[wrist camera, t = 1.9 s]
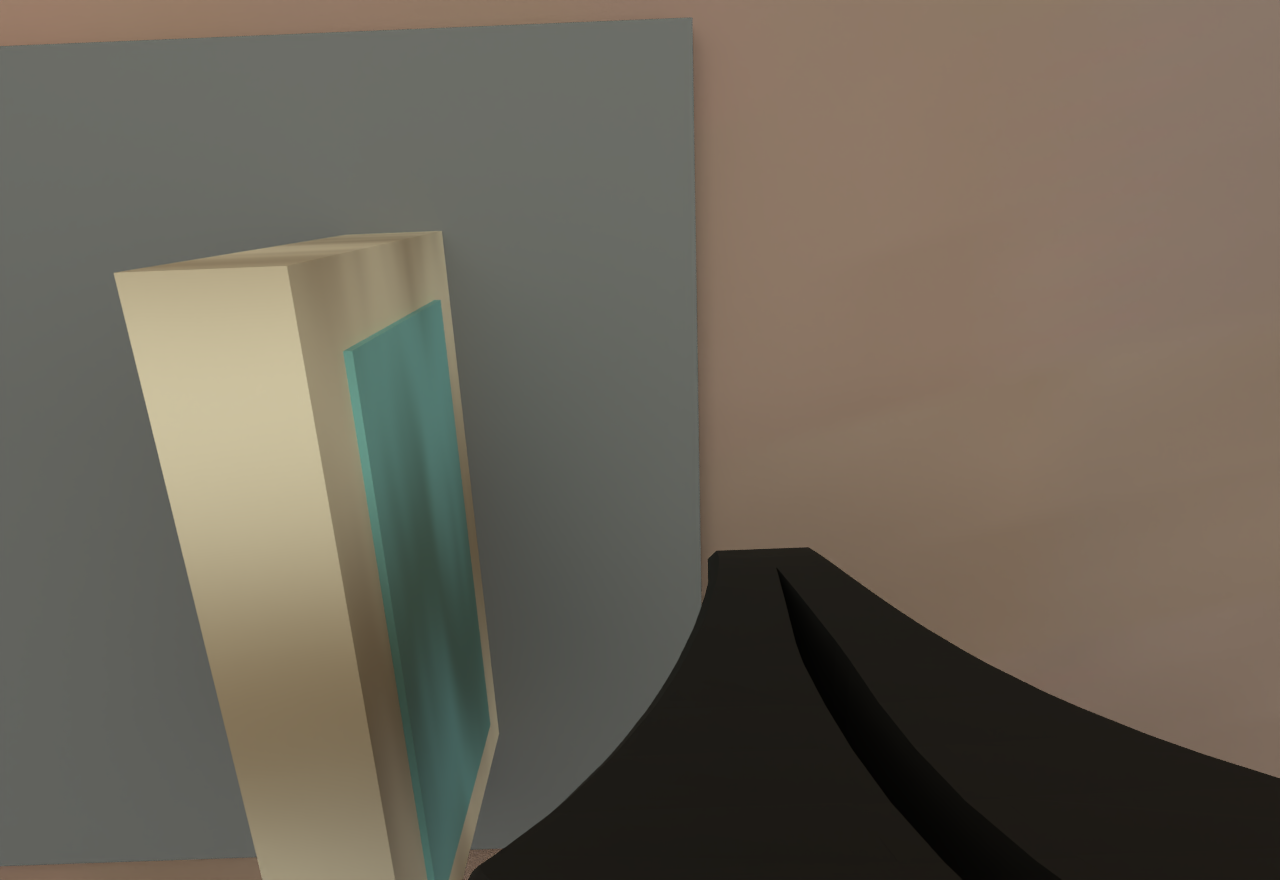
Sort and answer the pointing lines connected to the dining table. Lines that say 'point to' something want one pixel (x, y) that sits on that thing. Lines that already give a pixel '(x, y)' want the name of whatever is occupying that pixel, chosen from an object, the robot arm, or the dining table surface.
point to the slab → (328, 542)
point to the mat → (487, 369)
